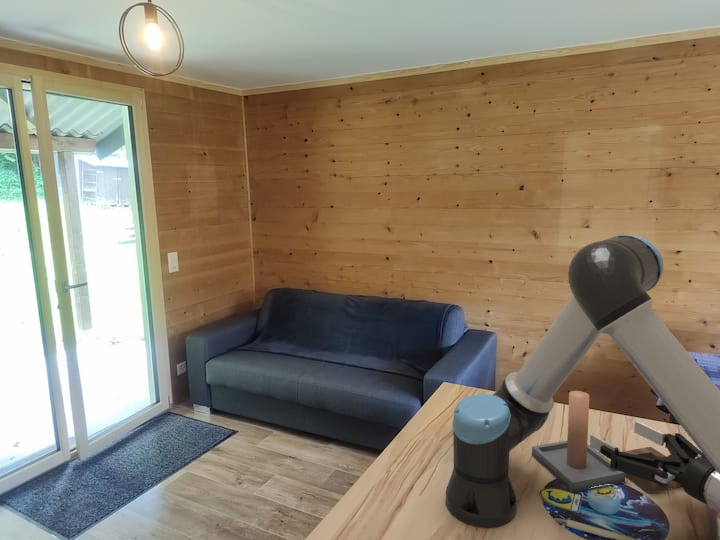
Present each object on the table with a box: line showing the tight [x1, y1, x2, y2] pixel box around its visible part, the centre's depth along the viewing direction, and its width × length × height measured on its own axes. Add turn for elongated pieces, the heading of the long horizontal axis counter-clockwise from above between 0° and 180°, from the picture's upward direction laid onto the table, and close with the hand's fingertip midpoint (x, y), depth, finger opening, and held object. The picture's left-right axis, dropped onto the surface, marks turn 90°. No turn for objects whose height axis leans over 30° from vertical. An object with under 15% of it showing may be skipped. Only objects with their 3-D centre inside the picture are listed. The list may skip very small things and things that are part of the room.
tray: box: [531, 440, 626, 494], centre depth 118 cm, size 14×16×2 cm
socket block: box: [622, 446, 683, 494], centre depth 113 cm, size 10×10×4 cm
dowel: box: [566, 390, 590, 469], centre depth 116 cm, size 4×4×18 cm
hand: (613, 433), depth 107 cm, fingers open, 13 cm apart
